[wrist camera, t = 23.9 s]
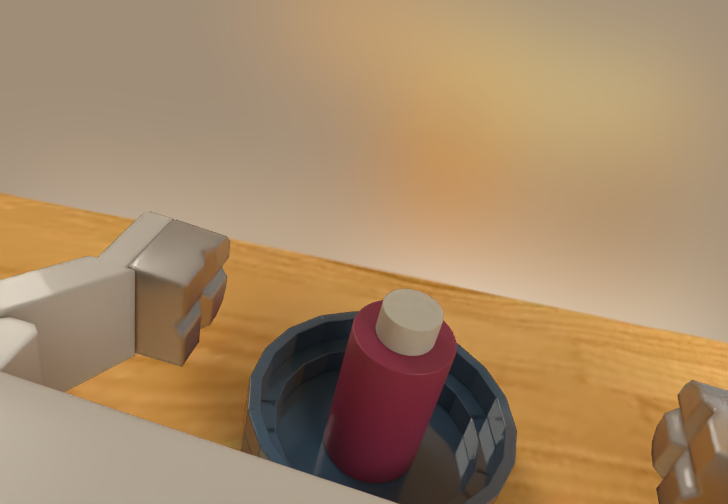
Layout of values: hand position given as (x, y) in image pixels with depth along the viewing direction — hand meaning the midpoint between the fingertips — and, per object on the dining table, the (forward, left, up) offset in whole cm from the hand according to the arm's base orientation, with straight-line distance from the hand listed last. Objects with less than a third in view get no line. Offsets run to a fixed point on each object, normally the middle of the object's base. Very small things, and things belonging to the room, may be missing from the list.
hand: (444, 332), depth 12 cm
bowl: (0, -18, -25) cm, 31 cm away
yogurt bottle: (0, -18, -25) cm, 30 cm away
